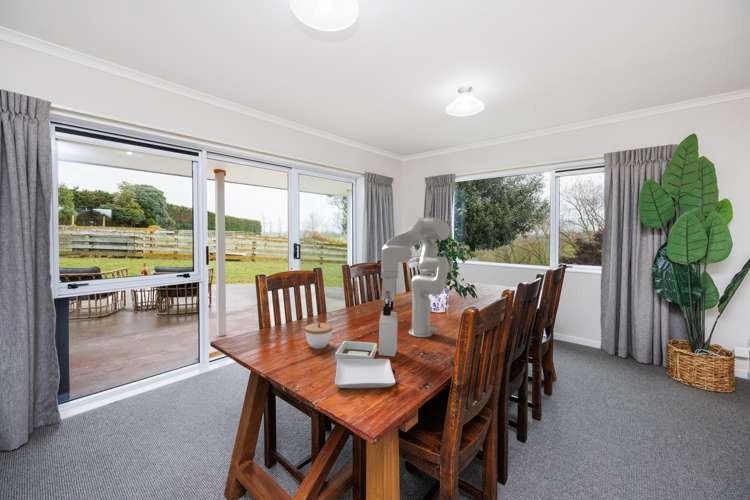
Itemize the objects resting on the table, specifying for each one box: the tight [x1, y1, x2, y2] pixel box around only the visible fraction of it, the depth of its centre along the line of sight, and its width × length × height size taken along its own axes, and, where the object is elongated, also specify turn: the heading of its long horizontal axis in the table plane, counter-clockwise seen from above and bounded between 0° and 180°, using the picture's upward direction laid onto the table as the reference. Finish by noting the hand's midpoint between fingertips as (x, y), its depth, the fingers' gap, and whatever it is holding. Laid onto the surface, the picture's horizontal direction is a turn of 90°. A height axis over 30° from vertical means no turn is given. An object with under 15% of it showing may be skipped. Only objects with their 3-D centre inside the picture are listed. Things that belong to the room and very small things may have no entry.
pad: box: [346, 350, 370, 356], centre depth 140 cm, size 9×9×1 cm
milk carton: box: [378, 310, 399, 357], centre depth 143 cm, size 7×7×19 cm
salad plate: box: [334, 358, 396, 389], centre depth 120 cm, size 21×21×3 cm
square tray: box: [334, 340, 378, 363], centre depth 140 cm, size 15×15×4 cm
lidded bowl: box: [304, 322, 333, 350], centre depth 151 cm, size 13×13×11 cm
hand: (388, 312), depth 142 cm, fingers open, 9 cm apart
